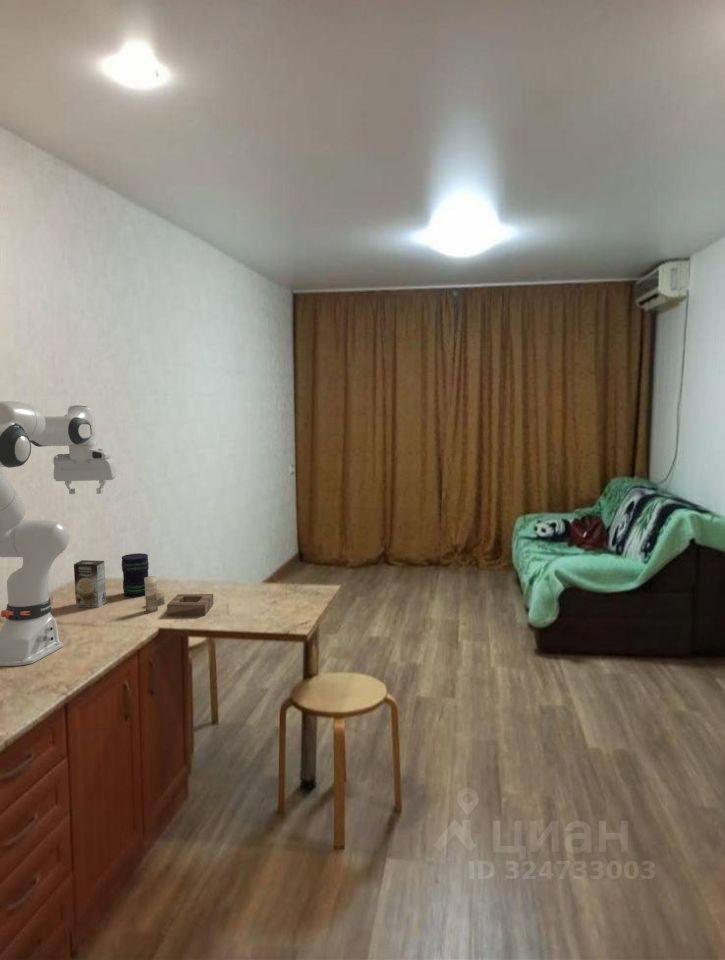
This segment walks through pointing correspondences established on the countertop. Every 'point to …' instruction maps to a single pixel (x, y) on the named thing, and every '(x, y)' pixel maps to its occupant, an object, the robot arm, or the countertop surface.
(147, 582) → the long pin
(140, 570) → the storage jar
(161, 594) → the short pin
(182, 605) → the walnut collar
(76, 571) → the coffee box
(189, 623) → the countertop surface
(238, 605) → the countertop surface
